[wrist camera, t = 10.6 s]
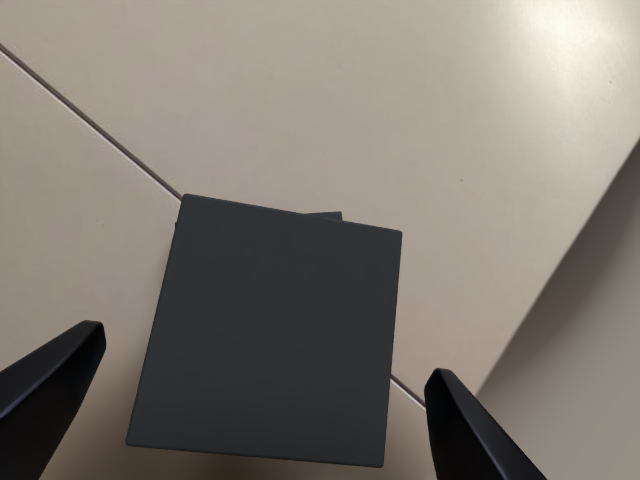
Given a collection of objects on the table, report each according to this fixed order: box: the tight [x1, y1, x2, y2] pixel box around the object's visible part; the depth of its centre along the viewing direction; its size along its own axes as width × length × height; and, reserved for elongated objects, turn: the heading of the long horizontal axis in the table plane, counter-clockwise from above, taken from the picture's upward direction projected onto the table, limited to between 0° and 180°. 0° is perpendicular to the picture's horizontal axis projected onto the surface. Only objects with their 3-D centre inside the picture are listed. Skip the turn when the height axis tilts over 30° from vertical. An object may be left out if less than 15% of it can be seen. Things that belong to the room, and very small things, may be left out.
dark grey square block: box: [126, 194, 402, 468], centre depth 12 cm, size 4×4×12 cm
